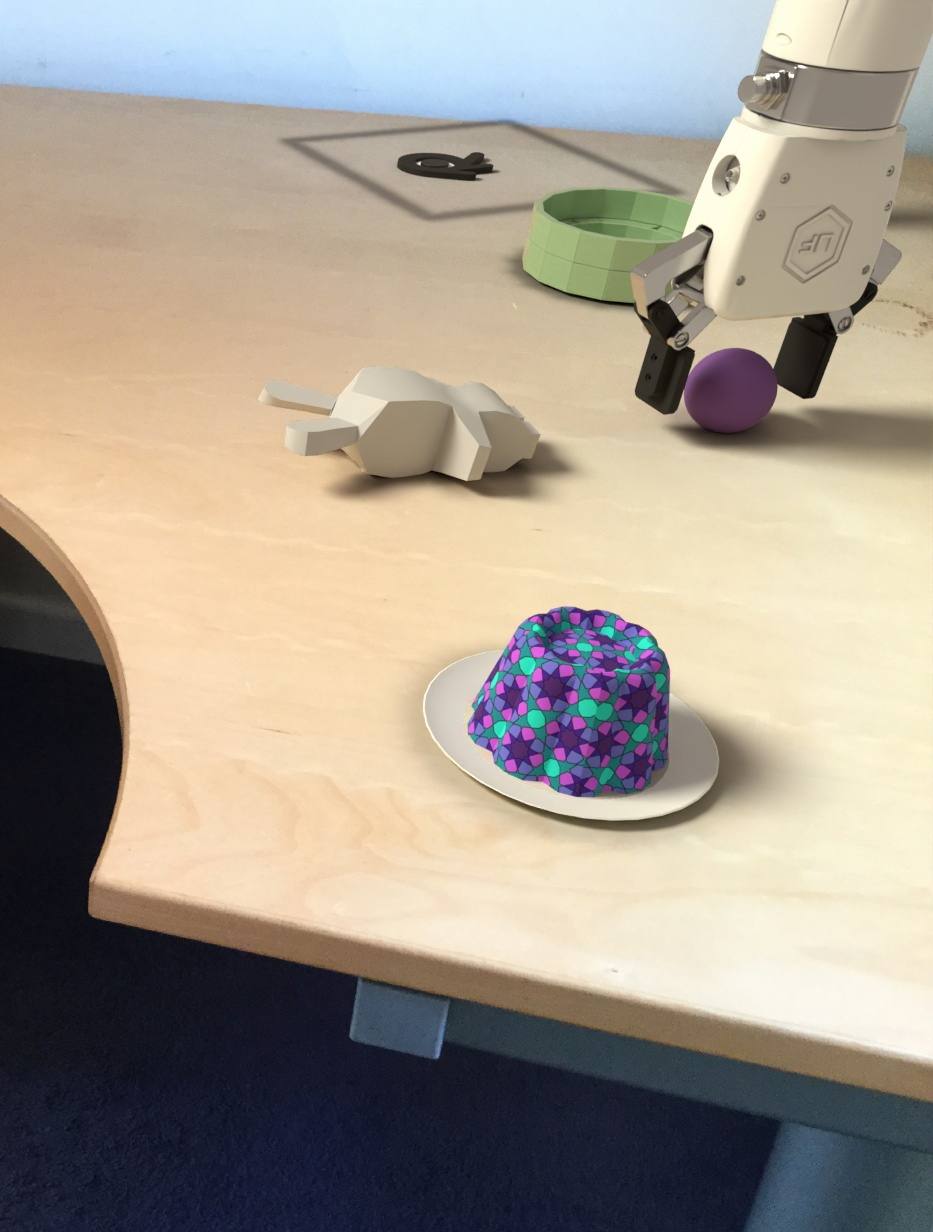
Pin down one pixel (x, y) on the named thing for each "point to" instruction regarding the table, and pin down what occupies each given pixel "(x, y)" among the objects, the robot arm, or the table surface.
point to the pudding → (575, 718)
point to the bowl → (600, 238)
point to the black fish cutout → (444, 165)
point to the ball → (730, 390)
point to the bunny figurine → (407, 424)
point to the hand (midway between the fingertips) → (723, 397)
